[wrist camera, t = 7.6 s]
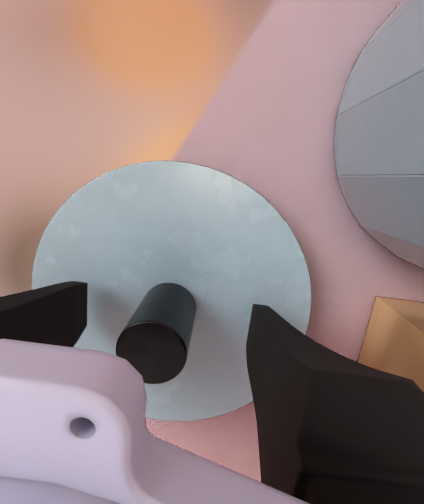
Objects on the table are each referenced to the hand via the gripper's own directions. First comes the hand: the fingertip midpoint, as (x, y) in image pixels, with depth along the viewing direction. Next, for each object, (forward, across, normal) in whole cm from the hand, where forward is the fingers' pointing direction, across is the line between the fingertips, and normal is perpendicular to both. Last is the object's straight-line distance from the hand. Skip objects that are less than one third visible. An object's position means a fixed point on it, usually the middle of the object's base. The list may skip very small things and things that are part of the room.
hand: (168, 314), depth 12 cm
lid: (+1, 0, 0) cm, 1 cm away
